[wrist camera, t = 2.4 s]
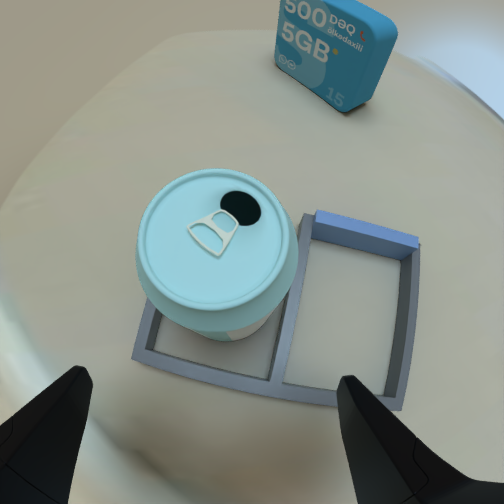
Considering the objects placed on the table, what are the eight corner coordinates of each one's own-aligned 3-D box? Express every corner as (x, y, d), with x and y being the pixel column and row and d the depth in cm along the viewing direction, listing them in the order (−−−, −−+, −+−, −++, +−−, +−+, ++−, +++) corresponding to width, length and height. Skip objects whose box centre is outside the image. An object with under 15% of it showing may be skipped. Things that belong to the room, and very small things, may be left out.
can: (187, 246, 23) (145, 151, 12) (276, 254, 23) (307, 162, 12) (174, 335, 21) (105, 313, 10) (269, 345, 21) (302, 337, 10)
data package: (272, 64, 32) (281, -17, 20) (297, 55, 33) (310, -20, 21) (346, 118, 29) (380, 29, 18) (368, 105, 30) (403, 25, 19)
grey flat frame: (389, 407, 19) (407, 412, 17) (140, 359, 20) (125, 359, 17) (408, 251, 24) (426, 239, 21) (188, 200, 25) (182, 181, 22)
